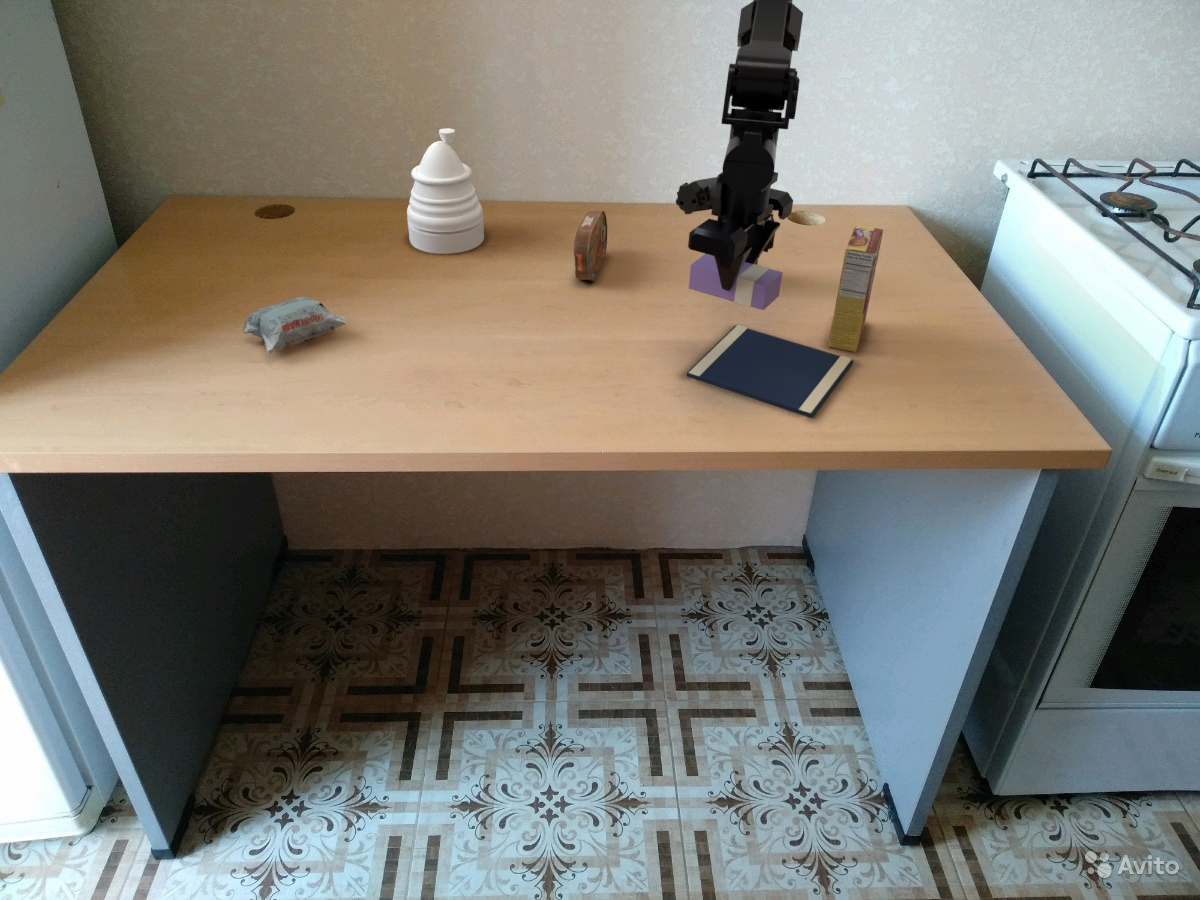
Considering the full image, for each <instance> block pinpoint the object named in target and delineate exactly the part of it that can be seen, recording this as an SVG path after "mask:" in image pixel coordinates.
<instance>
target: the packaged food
mask: <svg viewBox="0 0 1200 900" xmlns="http://www.w3.org/2000/svg"><path fill="white" fill-rule="evenodd" d="M347 321H348V320H347V318H346V317H343V316H340V315H337V313H335V312H331V311H329V310H328V309H327V308H326V307H325V305H324V304H323V303H322V302H320V301H319V300H316V299H313V298H310V297H308V296H305V295H303V296H300V297H296V298H292V299H288V300H285V301H284V302H280V303H276V304H273V305H270V306H265V307H263V308H260V309H258V310H256V311H253V312H251V313H250V314H249V315H248V316H247V318H246V320H245V321H244V326H243V328H242V332H243V334H245V335H247V334H252V335H253V336H256V337H259V338H262V339H263V342H264V346H265V351H266V354H269V353H272V352H274V351H275V350H277V351H284V350H286V349H289V348H291V347H294V346H296V345H299V344H301V343H303V342H307V341H312V340H314V339H317V338H319V337H322V336H323V335H326V334H329V333H332V332H334V331H336V330H338V328H341V327H343V326H346V324H347V323H348V322H347Z"/></svg>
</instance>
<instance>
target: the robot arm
mask: <svg viewBox="0 0 1200 900" xmlns="http://www.w3.org/2000/svg"><path fill="white" fill-rule="evenodd" d="M803 18H804V12H803V11H802V10H801V9H800V8H798V7H797V6H796V5H795V4H794V3H793V0H752V1H751V2H750V3H748V4H746V5H745V6H743V7H742V8H741V9H740V13H739V23H738V29H737V38H736V39H737V41H736V42H737V48H738V50H737V54H736V57H735V63H729V65H728V72H727V77H726V78H727V79H726V85H725V86H726V87H725V93H724V99H723V100H724V101H723V108H722V115H721V123H720V124H721V125H727V126H728V125H730V128H729V129H730V130H729V140H728V144H727V146H726V151H725V155H724V159H723V162H722V172H720V173H719V174H718V175H717V176H716V177H709V178H702V179H698V180H694V181H691V182H684V183H682V184H680V185H679V187H678V191H677V192H676V195H677V198H676V199H675V204H676V205H677V206H678V209H680V210H681V211H683V213H684V214H685V215H692V214H693V213H696V212H702V211H709V210H711V213H710V215H711V216H714V217H717V219H712V218H708V219H707V220H705V221H703V222H702V223H700V224H699V225H697V226H696V227H695V228H693V229H692V230H691V231H689V233H688V242H687V248H688V249H689V250H690V251H695V252H698V253H701V254H709V255H712V256H714V258H715V261H716V264H717V269H718V273H719V278H720V282H721V287H722V289H724V290H727V291H729V290H731V288H732V286H733V284H734V282H735V280H736V278H737V276H738V274H739V272H740V270H741V268H742V266H743V264H744V262H747V263H750V264H757V265H759V259H760V257H761V255H762V253H763V252H764V253H769V250H771V249H773V248H774V241H775V235H776V232H777V231H778V229H779V228H780V227H781V222H778V221H775V218H774V212H773V211H778V212H777V216H778V219H779V220H783V221H784V220H785V219H787V218H788V217H789V216H790V215H792V211H793V204H794V199H793V198H792V196H791V195H790V193H789V192H788V191H783V190H780V189H775V188H772V185H773V184H775V183H776V182H777V181H778V179H779V172H776V171H775V169H776V168H775V167H776V157H777V148H778V147H777V146H778V139H779V134H780V130H789V126H790V125H789V124H790V120H795V119H796V118H795V117H796V112H797V105H798V96H799V90H800V89H799V88H800V81H801V79H800V77H798V70H797V68H796V67H791V64H792V57H793V52H798V50H799V45H800V41H801V40H800V39H801V33H802V25H803ZM730 105H731V107H732V108H731V111H730V112H729V110H730ZM783 110H785V112H784V117H782V115H783V112H782V111H783ZM780 111H781V112H780Z"/></svg>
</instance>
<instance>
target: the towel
mask: <svg viewBox="0 0 1200 900" xmlns="http://www.w3.org/2000/svg"><path fill="white" fill-rule="evenodd" d="M853 364H854V359H852V358H850V357H847V356H844V355H838V354H834V353H830V352H828V351H825V350H821V349H817V348H814V347H810V346H807V345H804V344H801V343H799V342H794V341H791V340H788V339H784V338H781V337H778V336H775V335H770V334H767V333H764V332H761V331H757V330H754V329H750V328H749V327H747V326H743V325H740V324H735V326H733V327H732V328H731V329H730V330H729V331H727V333H726V334H725V335H723V337H722V338H721V339H720V340H718V341H717V343H716V344H715V345H714V346H712V348H710V349H709V350H708V352H706V353H705V354H704V355H703V356H702V357H701V358H700V359H699V360H698V361H697V362H696V363H695V364H694V365H693V366H692V367H691V368H690V369H689V370H688V371H687V372H686V377H688V378H691V379H694V380H698V381H700V382H703V383H706V384H710V385H712V386H716V387H718V388H721V389H724V390H727V391H729V392H733V393H736V394H739V395H742V396H746V397H749V398H751V399H754V400H756V401H760V402H763V403H766V404H770V405H773V406H775V407H778V408H781V409H784V410H787V411H791V412H792V413H796V414H799V415H802V416H805V417H807V418H810V419H811V418H814V416H815V415H816V414H817V412H818V411H819V410H820V408H821V407H822V405H823V404H824V403H825V401H826V400H827V399H828V398H829V397H830V394H831V393H832V392H833V391H834V389H835V388H836V387H837V386H838V384H839V383H840V381H841V380H843V379H842V378H843V377H844V376H845V375H846V373H848V371H849V370H850V368H851V367H852V366H853Z"/></svg>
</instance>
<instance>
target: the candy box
mask: <svg viewBox="0 0 1200 900" xmlns="http://www.w3.org/2000/svg"><path fill="white" fill-rule="evenodd" d="M883 234H884V229H881V228H876V227H871V226H863V225H855V226H854V229H853V231H852V234H851V236H850V239H849V241H848V244H847V246H846V248H845V251H844V257H843V261H842V269H841V273H840V278H839V285H838V290H837V296H836V301H835V307H834V312H833V316H832V317H833V318H832V323H831V329H830V334H829V340H828V341H829V342H828V345H827V346H828V347H829V348H832V349H838V350H841V351H848V352H852V353H856V352H857V349H858V345H859V342H860V339H861V337H862V333H863V331H864V328H865V325H866V320H867V315H868V310H869V304H870V299H871V294H872V290H873V284H874V280H875V274H876V269H877V265H878V259H879V254H880V249H881V243H882V238H883Z"/></svg>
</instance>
